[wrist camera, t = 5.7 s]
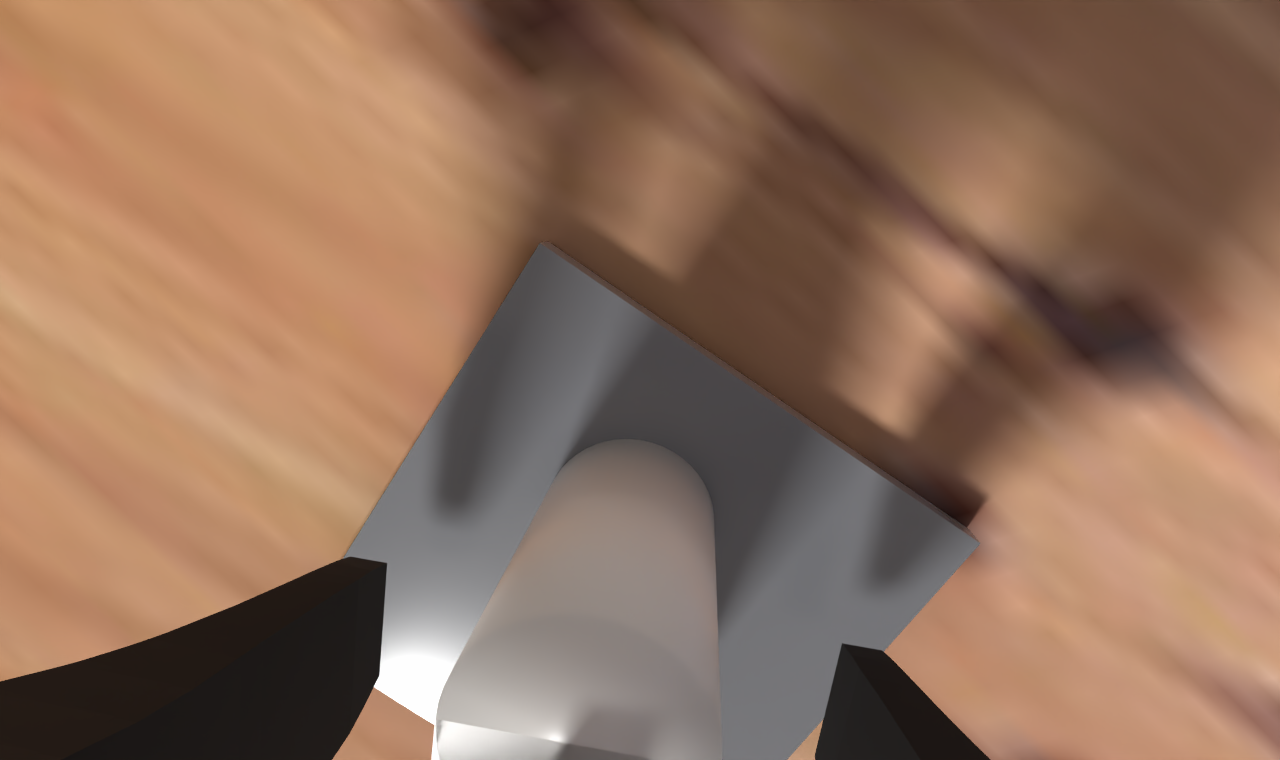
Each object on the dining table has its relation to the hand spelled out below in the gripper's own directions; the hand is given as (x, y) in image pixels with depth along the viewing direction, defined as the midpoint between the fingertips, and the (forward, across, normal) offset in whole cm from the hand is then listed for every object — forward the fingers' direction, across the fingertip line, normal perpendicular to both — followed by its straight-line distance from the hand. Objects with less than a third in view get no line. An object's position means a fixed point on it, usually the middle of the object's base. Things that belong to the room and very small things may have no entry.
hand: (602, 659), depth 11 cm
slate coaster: (+3, 0, 0) cm, 3 cm away
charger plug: (+2, 0, 0) cm, 2 cm away
